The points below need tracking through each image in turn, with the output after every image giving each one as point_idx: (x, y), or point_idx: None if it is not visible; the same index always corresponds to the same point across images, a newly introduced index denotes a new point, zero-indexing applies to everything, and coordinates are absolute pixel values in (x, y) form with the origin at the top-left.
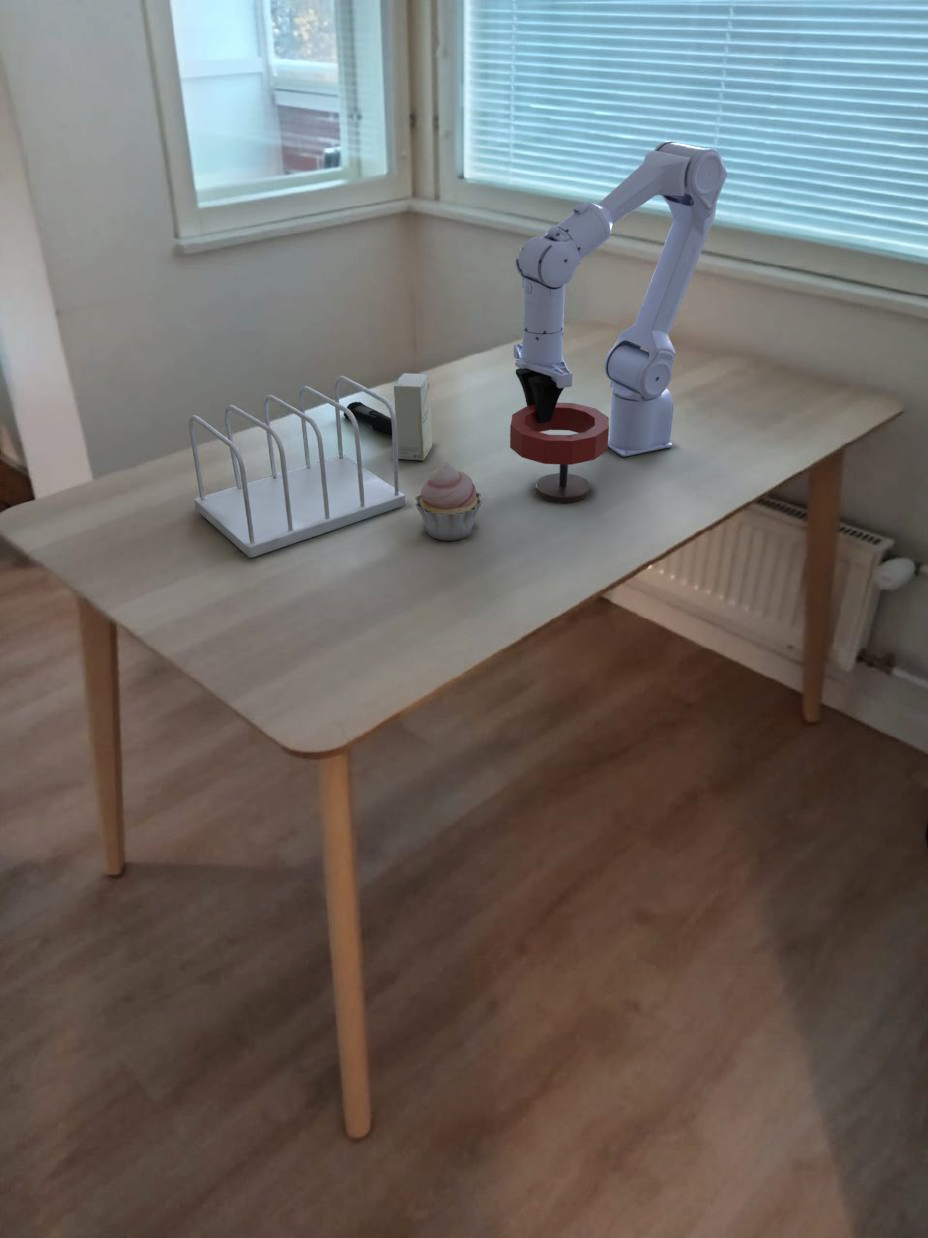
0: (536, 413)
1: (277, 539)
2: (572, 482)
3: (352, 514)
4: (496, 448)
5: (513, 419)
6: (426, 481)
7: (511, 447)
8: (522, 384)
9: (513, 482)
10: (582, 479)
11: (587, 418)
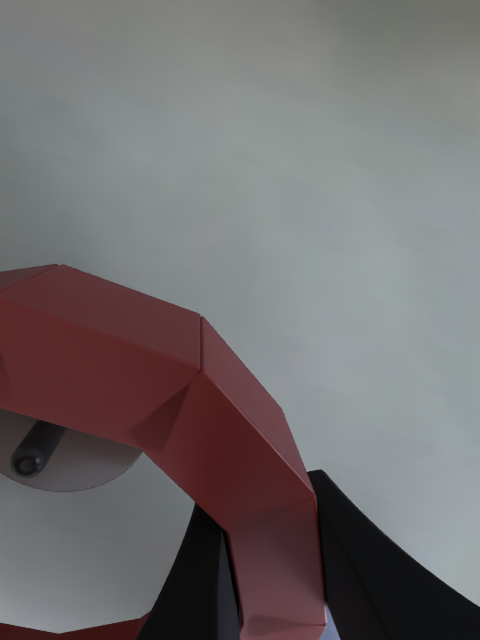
0: (209, 521)
1: None
2: (70, 447)
3: None
4: (445, 294)
5: (93, 348)
6: None
7: (40, 267)
8: (454, 625)
9: (169, 270)
10: (86, 480)
11: None
